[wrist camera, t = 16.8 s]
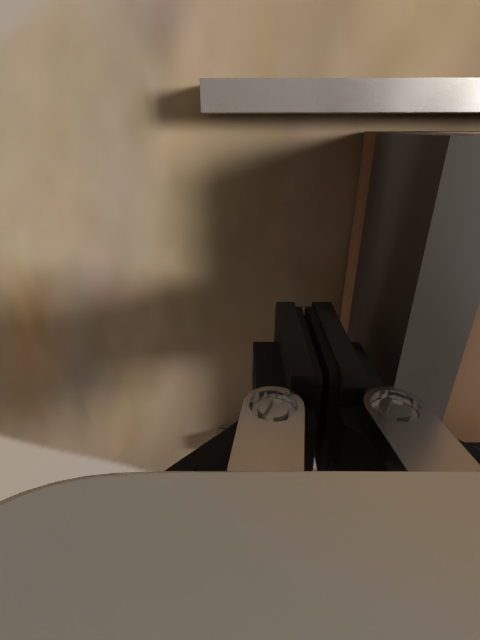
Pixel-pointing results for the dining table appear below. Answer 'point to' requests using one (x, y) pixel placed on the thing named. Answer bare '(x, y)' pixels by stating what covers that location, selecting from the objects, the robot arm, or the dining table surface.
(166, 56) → the dining table surface
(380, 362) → the brown tray
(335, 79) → the rails
